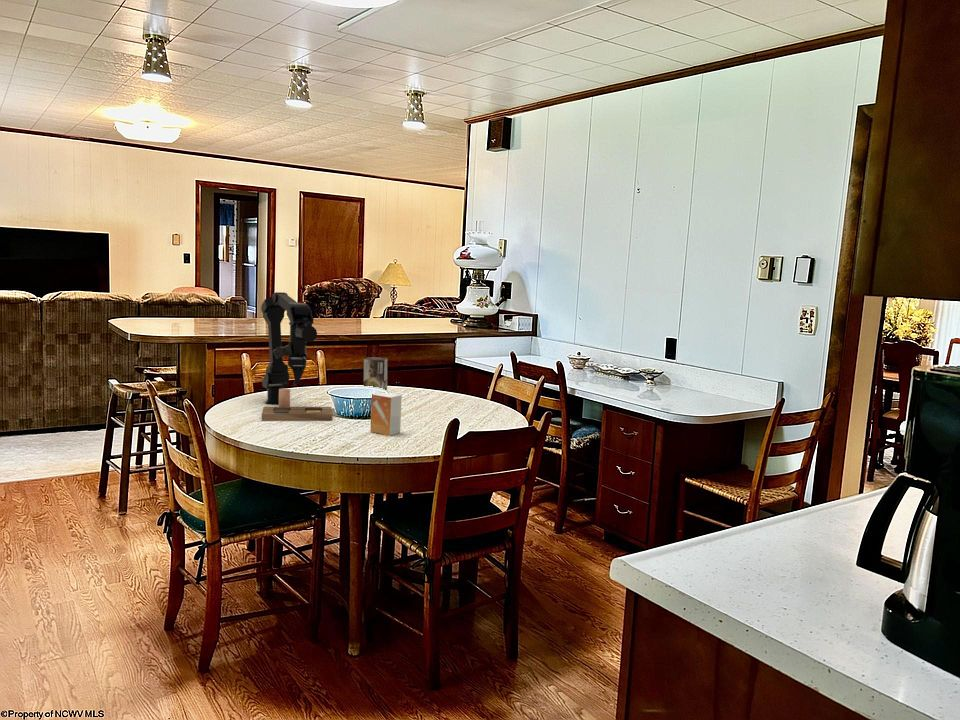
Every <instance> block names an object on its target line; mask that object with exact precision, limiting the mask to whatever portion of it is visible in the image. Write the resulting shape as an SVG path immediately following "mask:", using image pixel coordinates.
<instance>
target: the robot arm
mask: <svg viewBox="0 0 960 720" xmlns="http://www.w3.org/2000/svg"><path fill="white" fill-rule="evenodd" d="M311 310H312V309H311V308H310V307H309V305H308V304H307V303H302V302H298V301H296V300H294V298H292V297H291V296H290V295H288V293H287V292H281V291H278V292H277V291H276V292H273V293H272V294H271V296H269V297H267V298H266V299H264V300H263V301H262V303H261V307H260V311H261V313H262V317H263V320H264V321H265V323H267V332H268V333H267V334H268V335H267V337H268V349H269V350H268V351H269V361H268V364H267V367H266V368H265V374H264V376H263V378H262V380H261V385H262V387H263V388H265V389H267V391H266V392H267V394H266V395H267V396H266V397H267V399H266V400H265V404H268V405H269V404H270V405H271V404H272V405H274V404H275V405H279V389H282V388H288V387H289V381H290V373H289V368H290V369H291V370H292V374H293V380H294V383H295V384H296V385H297V384H298V385H299V383H300V382H301V380H302V379H301V378H302V376H303V374H304V372H305V369H306V367H307V358H308V354H307V343H312V342H314V341H315V340H316V339H317V337H318V332H317V329H316V328H315V326H313V325H314V323H315V322H314V319H315V318H314V316H313V314H312V311H311ZM285 312H286V316H287V318H288V320H289V322H288V325H289V328H290V329H289V341H288V344H287V345H284V346H283V345H282V329H281V328H282V327H281V325H282V324H281V323H282V322H283V320H284V318H285ZM286 356H288V359H287V364H285V362H284V360H283V357H286Z"/></svg>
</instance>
